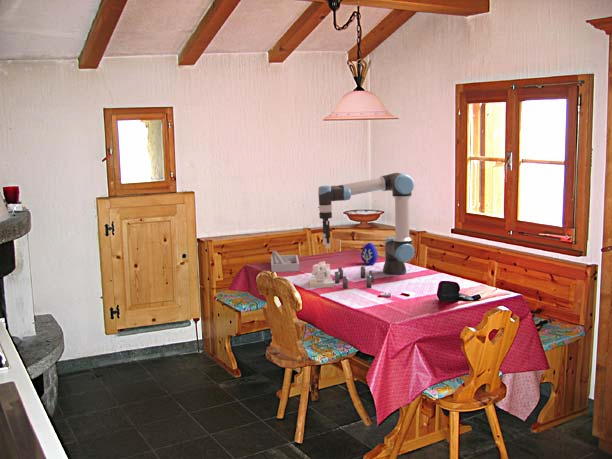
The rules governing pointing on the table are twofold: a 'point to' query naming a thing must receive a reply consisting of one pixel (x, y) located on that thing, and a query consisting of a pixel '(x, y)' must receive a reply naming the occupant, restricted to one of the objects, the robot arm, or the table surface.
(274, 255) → the faucet
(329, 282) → the parts stand
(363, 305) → the table surface
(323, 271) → the mechanical part
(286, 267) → the storage bin
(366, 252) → the ornament
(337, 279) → the standoff posts
